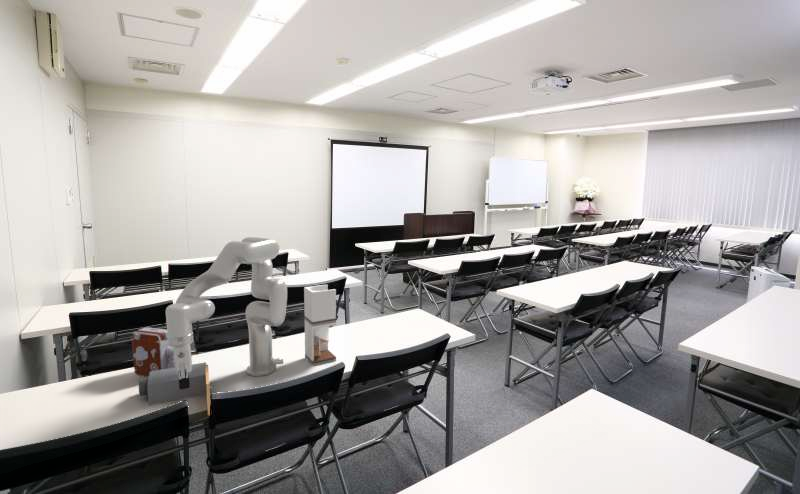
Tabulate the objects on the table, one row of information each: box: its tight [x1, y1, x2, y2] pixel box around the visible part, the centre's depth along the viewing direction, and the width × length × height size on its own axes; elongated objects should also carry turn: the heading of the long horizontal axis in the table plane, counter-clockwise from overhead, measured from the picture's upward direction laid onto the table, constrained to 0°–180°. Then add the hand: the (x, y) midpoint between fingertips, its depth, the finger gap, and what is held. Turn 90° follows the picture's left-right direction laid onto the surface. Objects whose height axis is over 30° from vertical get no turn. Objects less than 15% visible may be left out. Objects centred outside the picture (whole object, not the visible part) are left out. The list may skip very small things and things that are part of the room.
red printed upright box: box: [131, 326, 175, 378], centre depth 170 cm, size 9×19×20 cm, turn 78°
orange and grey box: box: [138, 361, 207, 406], centre depth 156 cm, size 23×12×8 cm, turn 118°
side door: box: [205, 364, 214, 416], centre depth 149 cm, size 17×2×12 cm, turn 27°
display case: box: [303, 284, 337, 367], centre depth 188 cm, size 11×11×35 cm
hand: (184, 387), depth 141 cm, fingers closed
